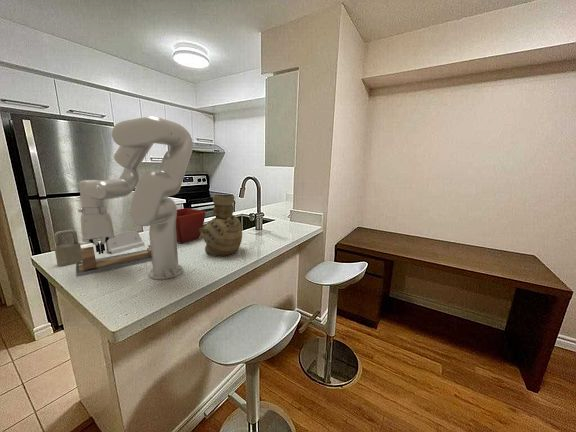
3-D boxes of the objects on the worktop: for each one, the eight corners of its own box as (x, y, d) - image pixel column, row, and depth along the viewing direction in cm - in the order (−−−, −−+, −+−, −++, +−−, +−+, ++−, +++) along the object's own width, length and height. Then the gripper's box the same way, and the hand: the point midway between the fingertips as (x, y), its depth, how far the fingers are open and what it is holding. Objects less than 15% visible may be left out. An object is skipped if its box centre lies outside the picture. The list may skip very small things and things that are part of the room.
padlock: (57, 264, 105) (50, 231, 102) (80, 259, 111) (75, 227, 108) (59, 267, 102) (53, 233, 99) (83, 261, 109) (78, 229, 106)
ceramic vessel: (198, 249, 126) (194, 193, 120) (237, 245, 135) (236, 192, 129) (202, 263, 110) (198, 198, 104) (246, 256, 119) (246, 196, 113)
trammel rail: (161, 254, 115) (160, 248, 114) (79, 271, 96) (78, 263, 95) (156, 249, 122) (156, 243, 121) (79, 264, 102) (77, 257, 101)
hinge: (111, 254, 117) (105, 235, 117) (107, 255, 120) (101, 236, 120) (145, 245, 132) (140, 228, 131) (141, 246, 134) (135, 229, 134)
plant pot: (179, 246, 131) (177, 216, 128) (159, 240, 141) (156, 212, 137) (207, 238, 147) (206, 211, 144) (187, 233, 157) (186, 207, 153)
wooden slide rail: (164, 257, 115) (164, 255, 114) (76, 276, 94) (76, 273, 94) (157, 249, 125) (157, 247, 125) (76, 265, 104) (76, 262, 104)
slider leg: (96, 267, 99) (93, 249, 98) (84, 269, 97) (81, 251, 95) (95, 261, 106) (92, 243, 104) (83, 263, 103) (80, 245, 101)
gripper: (70, 213, 90) (77, 259, 94) (118, 210, 100) (123, 251, 103) (70, 210, 95) (77, 254, 99) (116, 207, 105) (121, 247, 109)
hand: (101, 252), depth 101 cm, fingers closed
